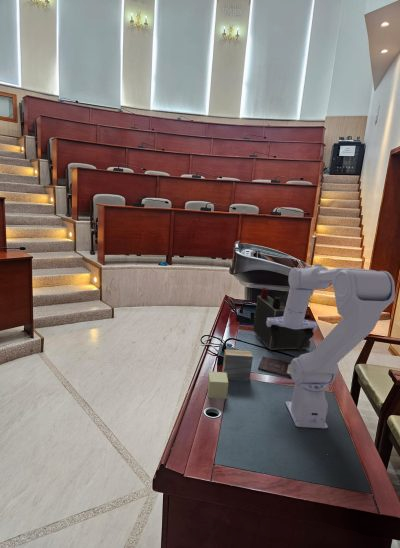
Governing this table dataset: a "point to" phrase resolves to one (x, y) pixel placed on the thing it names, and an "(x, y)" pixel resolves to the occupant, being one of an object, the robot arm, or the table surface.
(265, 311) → the voltmeter
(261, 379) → the table surface
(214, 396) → the olive cube
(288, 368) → the chocolate bar
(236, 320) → the table surface
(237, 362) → the beech slab
